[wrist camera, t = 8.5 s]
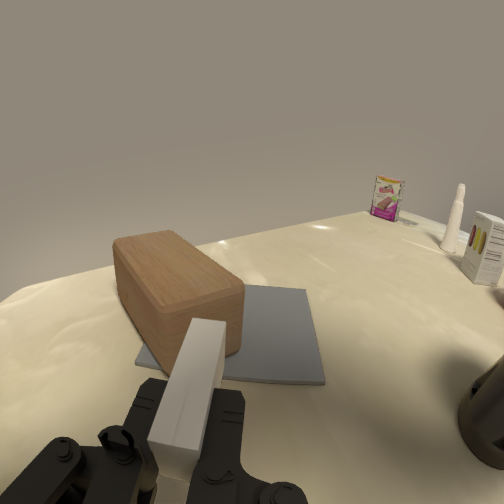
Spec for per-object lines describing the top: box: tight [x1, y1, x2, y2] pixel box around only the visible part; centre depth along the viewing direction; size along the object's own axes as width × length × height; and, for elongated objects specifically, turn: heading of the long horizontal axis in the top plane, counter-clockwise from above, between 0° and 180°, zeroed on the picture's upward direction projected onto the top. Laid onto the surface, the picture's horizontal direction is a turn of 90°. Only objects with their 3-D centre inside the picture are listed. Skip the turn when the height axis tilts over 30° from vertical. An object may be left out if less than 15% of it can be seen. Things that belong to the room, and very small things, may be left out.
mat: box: [135, 284, 325, 385], centre depth 42 cm, size 22×22×1 cm
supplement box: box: [460, 211, 504, 287], centre depth 60 cm, size 10×9×17 cm
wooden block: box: [113, 230, 245, 376], centre depth 37 cm, size 10×10×20 cm
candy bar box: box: [370, 175, 405, 222], centre depth 109 cm, size 11×5×16 cm, turn 45°
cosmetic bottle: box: [440, 183, 465, 253], centre depth 78 cm, size 6×6×22 cm
